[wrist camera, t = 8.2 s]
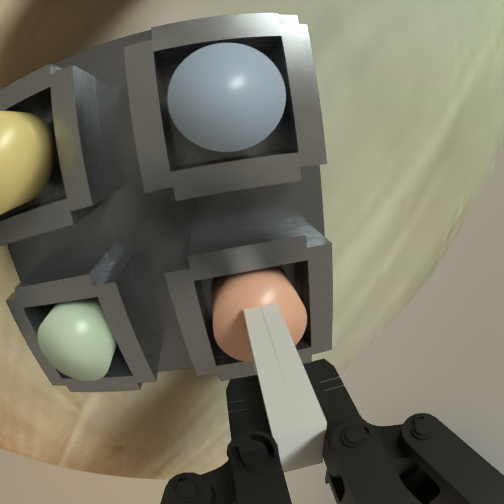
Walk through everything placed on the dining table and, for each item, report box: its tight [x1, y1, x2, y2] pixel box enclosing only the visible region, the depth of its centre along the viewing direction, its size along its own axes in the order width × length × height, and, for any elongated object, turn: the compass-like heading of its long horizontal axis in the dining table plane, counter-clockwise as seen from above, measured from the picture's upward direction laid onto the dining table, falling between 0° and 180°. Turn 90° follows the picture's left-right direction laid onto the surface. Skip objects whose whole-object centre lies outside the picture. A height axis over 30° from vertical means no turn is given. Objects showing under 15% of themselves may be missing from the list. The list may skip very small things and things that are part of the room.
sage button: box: [38, 297, 117, 381], centre depth 14 cm, size 4×4×3 cm
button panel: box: [0, 13, 333, 392], centre depth 13 cm, size 19×20×4 cm
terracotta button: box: [212, 266, 307, 362], centre depth 15 cm, size 4×4×3 cm
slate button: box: [167, 43, 286, 152], centre depth 11 cm, size 4×4×3 cm
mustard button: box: [0, 111, 55, 215], centre depth 8 cm, size 4×4×3 cm
